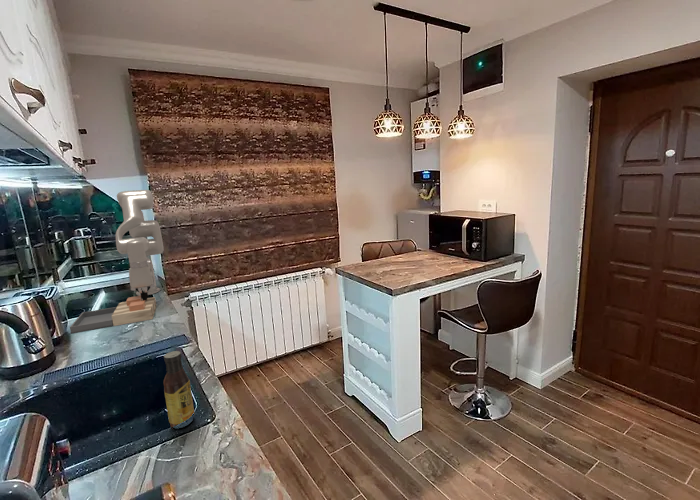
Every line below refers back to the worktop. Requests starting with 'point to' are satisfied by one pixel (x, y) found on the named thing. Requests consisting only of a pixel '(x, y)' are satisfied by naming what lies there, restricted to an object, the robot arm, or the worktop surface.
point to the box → (93, 320)
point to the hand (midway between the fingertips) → (145, 299)
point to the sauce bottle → (177, 390)
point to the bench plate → (133, 313)
